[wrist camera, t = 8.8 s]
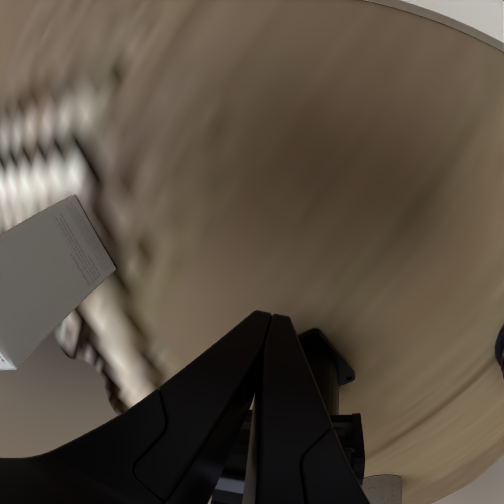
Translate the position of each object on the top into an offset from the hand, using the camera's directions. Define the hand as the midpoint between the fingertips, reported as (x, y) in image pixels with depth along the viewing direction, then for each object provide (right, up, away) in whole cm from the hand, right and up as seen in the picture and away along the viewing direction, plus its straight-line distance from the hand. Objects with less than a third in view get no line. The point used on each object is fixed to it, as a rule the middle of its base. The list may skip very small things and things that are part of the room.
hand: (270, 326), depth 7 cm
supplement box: (-16, +2, +17) cm, 23 cm away
